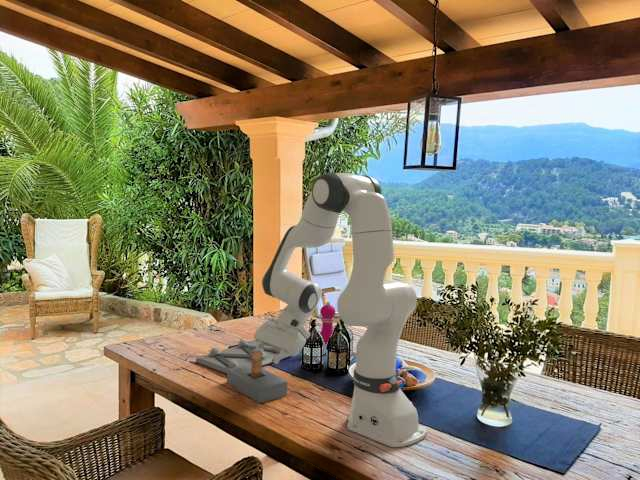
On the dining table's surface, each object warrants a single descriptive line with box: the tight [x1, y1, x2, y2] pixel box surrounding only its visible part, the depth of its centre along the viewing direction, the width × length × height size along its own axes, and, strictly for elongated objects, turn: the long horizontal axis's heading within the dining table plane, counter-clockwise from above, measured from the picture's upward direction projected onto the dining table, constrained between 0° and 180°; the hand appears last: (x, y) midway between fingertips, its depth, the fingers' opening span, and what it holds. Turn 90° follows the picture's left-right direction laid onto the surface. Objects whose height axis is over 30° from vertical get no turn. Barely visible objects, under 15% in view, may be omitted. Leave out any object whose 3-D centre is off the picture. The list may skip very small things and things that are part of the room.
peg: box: [251, 351, 263, 379], centre depth 162 cm, size 3×3×12 cm
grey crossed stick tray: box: [195, 338, 293, 375], centre depth 189 cm, size 30×22×7 cm
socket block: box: [226, 364, 288, 404], centre depth 162 cm, size 20×10×4 cm, turn 39°
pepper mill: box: [319, 301, 336, 344], centre depth 201 cm, size 7×7×20 cm
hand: (264, 358), depth 164 cm, fingers open, 8 cm apart
